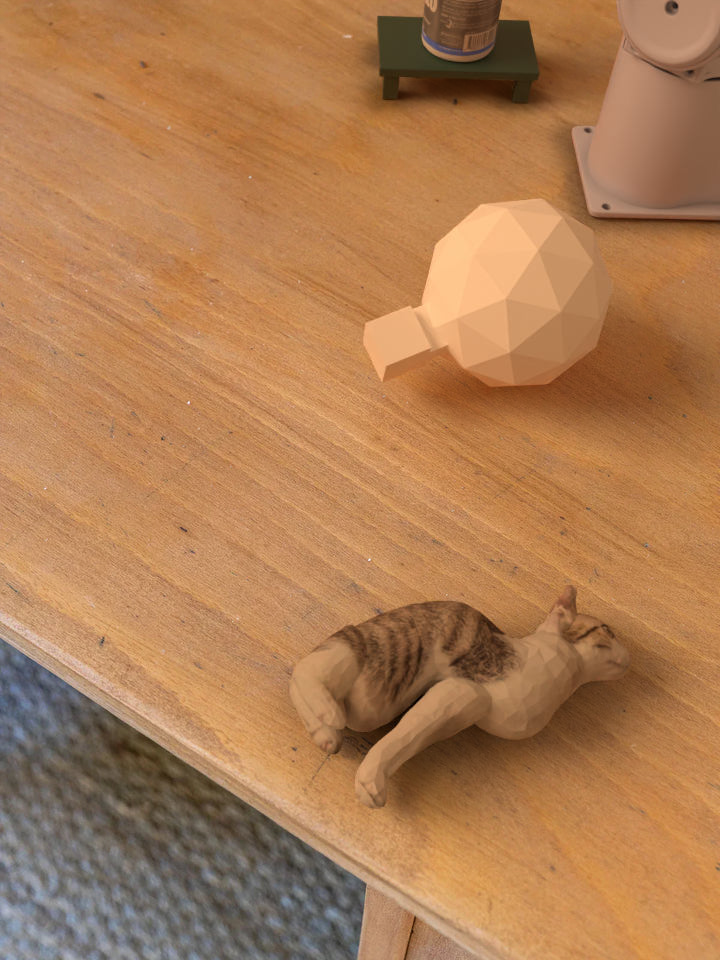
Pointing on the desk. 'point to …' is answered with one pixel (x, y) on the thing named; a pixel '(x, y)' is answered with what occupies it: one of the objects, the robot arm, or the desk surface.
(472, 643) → the figurine
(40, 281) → the desk surface
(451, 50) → the pill bottle
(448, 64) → the green footed tray
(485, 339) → the perfume bottle
